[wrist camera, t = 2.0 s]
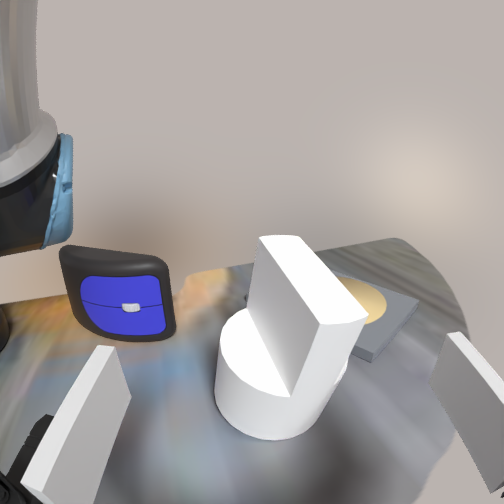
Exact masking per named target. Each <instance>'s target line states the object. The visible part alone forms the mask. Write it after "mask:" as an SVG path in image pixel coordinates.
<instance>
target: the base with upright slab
mask: <svg viewBox="0 0 504 504" xmlns="http://www.w3.org/2000/svg"><path fill="white" fill-rule="evenodd" d="M368 315H369V314H368V313H367V312H366V310H365V309H364V308H363V307H362V306H361V305H360V304H359V302H358V301H357V300H356V299H355V298H354V297H353V296H352V294H351V293H350V292H349V291H348V290H347V289H346V288H345V287H344V285H343V284H342V283H341V282H340V281H339V280H338V279H337V278H336V277H335V275H334V274H333V273H332V272H331V271H330V270H329V269H328V268H327V267H326V265H325V264H324V263H323V262H322V261H321V260H320V259H319V258H318V257H317V256H316V254H315V253H314V252H313V251H312V250H311V249H310V248H309V247H308V246H307V245H306V244H305V243H304V242H303V241H302V239H301V238H300V237H298V236H288V235H272V236H262V237H259V239H258V245H257V251H256V256H255V262H254V268H253V273H252V279H251V285H250V291H249V296H248V302H247V308H245V309H243V310H241V311H238V312H237V313H236V314H234V315H233V316H232V317H231V318H229V319H228V321H227V322H226V324H225V326H224V327H223V329H222V332H221V337H220V343H219V352H218V361H217V370H216V380H215V389H214V392H215V399H216V404H217V406H218V408H219V410H220V412H221V414H222V415H223V417H224V418H225V419H226V420H227V421H228V422H229V423H230V424H231V425H232V426H233V427H235V428H236V429H238V430H240V431H241V432H243V433H244V434H247V435H250V436H253V437H256V438H259V439H265V440H283V439H289V438H293V437H295V436H297V435H300V434H302V433H304V432H305V431H306V430H308V429H309V428H310V427H311V426H312V425H314V423H315V422H316V420H317V419H318V417H319V416H320V414H321V412H322V411H323V409H324V407H325V406H326V404H327V402H328V401H329V399H330V397H331V395H332V394H333V392H334V390H335V388H336V387H337V385H338V383H339V381H340V380H341V378H342V376H343V374H344V372H345V370H346V369H347V362H348V357H349V355H350V353H351V351H352V349H353V347H354V345H355V343H356V341H357V339H358V337H359V334H360V332H361V330H362V328H363V326H364V324H365V322H366V320H367V317H368Z"/></svg>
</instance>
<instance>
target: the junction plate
mask: <svg viewBox="0 0 504 504" xmlns="http://www.w3.org/2000/svg"><path fill="white" fill-rule="evenodd" d="M329 270H330V269H329ZM330 271H331V272H332V273H333V274H334V275H335V277H336V278H337V279H338V280H339V281H340V282H341V283H342V284H343V285H344V287H345V288H346V289H347V290H348V291H349V292H350V293H351V294H352V296H353V297H354V298H355V299H356V300H357V301H358V302H359V304H360V305H361V306H362V307H363V308H364V309H365V310H366V312H367V313H368V314H369V315H368V317H367V320H366V322H365V324H364V326H363V328H362V330H361V332H360V334H359V337H358V339H357V341H356V343H355V345H354V347H353V349H352V351H351V354H353V355H355V356H358V357H360V358H362V359H364V360H366V361H368V362H372V361H373V360H374V359H375V358H376V357H377V356H378V355H379V353H380V352H381V351H382V350H383V349H384V348H385V347H386V345H387V344H388V343H389V342H390V341H391V340H392V338H393V337H394V336H395V335H396V334H397V332H398V331H399V330H400V329H401V328H402V326H403V325H404V324H405V323H406V321H407V320H408V319H409V318H410V316H411V315H412V314H413V313H414V311H415V310H416V309H417V306H418V302H419V300H417V299H414V298H411V297H408V296H406V295H403V294H400V293H397V292H394V291H391V290H388V289H385V288H382V287H379V286H377V285H374V284H371V283H368V282H365V281H362V280H359V279H356V278H353V277H350V276H347V275H344V274H341V273H338V272H336V271H333V270H330ZM248 296H249V292H248V293H246V302H248Z"/></svg>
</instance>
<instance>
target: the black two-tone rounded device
mask: <svg viewBox="0 0 504 504" xmlns="http://www.w3.org/2000/svg"><path fill="white" fill-rule="evenodd" d="M59 259H60V263H61V268H62V273H63V277H64V281H65V285H66V289H67V293H68V297H69V301H70V304H71V308H72V311H73V314H74V316H75V318H76V319H77V320H78V322H79V323H80V324H81V325H83V326H84V327H85V328H87V329H88V330H90V331H92V332H94V333H96V334H98V335H101V336H104V337H107V338H111V339H115V340H121V341H131V342H149V341H159V340H163V339H166V338H168V337H170V336H171V335H173V333H174V332H175V330H176V322H175V315H174V308H173V300H172V293H171V285H170V277H169V269H168V266H167V264H166V263H165V262H164V261H163V260H161V259H160V258H158V257H156V256H152V255H144V254H136V253H128V252H120V251H113V250H105V249H97V248H89V247H82V246H75V245H66V246H63V247H62V248H61V249H60V251H59Z"/></svg>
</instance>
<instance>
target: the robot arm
mask: <svg viewBox="0 0 504 504" xmlns="http://www.w3.org/2000/svg"><path fill="white" fill-rule="evenodd" d="M37 3H38V0H0V257H1V256H6V255H11V254H16V253H21V252H27V251H32V250H37V249H40V250H42V249H44V248H46V246H50V245H54V244H58V243H62V242H64V241H66V240H67V239H68V238H69V237H70V235H71V234H72V230H73V198H72V174H73V172H72V171H73V168H72V167H73V138H72V136H71V135H68V134H66V135H65V134H63V133H61V134H58V132H57V126H56V122H55V120H54V118H53V117H52V116H51V115H50V114H48V113H47V112H45V111H43V110H40V109H39V101H38V88H37V70H36V19H37V17H36V16H37ZM8 337H9V325H8V323H7V320H6V317H5V315H4V312H3V310H2V309H1V307H0V351H1V350H2V348H3V347H4V345H5V344H6V342H7V340H8ZM429 385H430V386H431V388H432V390H433V391H434V393H435V394H436V396H437V398H438V399H439V401H440V403H441V404H442V406H443V408H444V409H445V411H446V413H447V414H448V416H449V418H450V419H451V421H452V423H453V424H454V426H455V428H456V430H457V431H458V433H459V435H460V437H461V438H462V440H463V442H464V444H465V446H466V447H467V449H468V451H469V453H470V455H471V457H472V458H473V460H474V462H475V464H476V466H477V468H478V470H479V472H480V474H481V475H482V478H483V479H484V481H485V483H486V485H487V487H488V489H489V491H490V493H493V492H494V491H496V490H498V489H499V488H501V487H503V486H504V382H503V380H502V379H501V378H500V377H499V375H498V374H497V373H496V372H495V371H494V369H493V368H492V367H491V366H490V365H489V364H488V362H487V361H486V360H485V359H484V358H483V357H482V355H481V354H480V353H479V352H478V351H477V350H476V349H475V348H474V346H473V345H472V344H471V343H470V342H469V341H468V340H467V339H466V338H465V336H464V335H463V334H462V333H461V332H455V333H449V334H447V335H446V338H445V341H444V343H443V346H442V349H441V352H440V355H439V357H438V360H437V363H436V365H435V368H434V370H433V373H432V375H431V378H430V380H429ZM130 399H131V395H130V392H129V389H128V386H127V383H126V380H125V377H124V374H123V371H122V368H121V365H120V362H119V359H118V355H117V352H116V349H115V347H113V346H102V345H98V346H97V347H96V349H95V350H94V352H93V353H92V355H91V357H90V358H89V360H88V361H87V363H86V364H85V366H84V368H83V369H82V371H81V373H80V374H79V376H78V377H77V379H76V381H75V382H74V384H73V386H72V387H71V389H70V391H69V392H68V394H67V396H66V398H65V399H64V401H63V403H62V404H61V406H60V408H59V410H58V411H57V413H56V415H55V417H54V416H51V415H47V414H46V415H44V416H43V417H42V418H41V419H40V420H39V421H37V422H36V423H35V425H34V427H33V428H32V430H31V432H30V436H28V437H27V439H26V441H25V442H24V443H25V445H23V446H22V448H21V450H20V451H19V453H18V455H17V457H16V459H15V461H14V463H13V465H12V466H11V468H10V470H9V472H8V474H7V475H6V477H5V476H4V475H3V474H2V473H1V471H0V504H93V503H94V500H95V497H96V494H97V490H98V487H99V484H100V481H101V479H102V476H103V473H104V470H105V467H106V464H107V461H108V458H109V456H110V453H111V450H112V447H113V444H114V442H115V439H116V436H117V434H118V431H119V428H120V425H121V423H122V420H123V418H124V415H125V412H126V410H127V407H128V405H129V402H130ZM503 497H504V492H503V493H502V496H501V498H503Z"/></svg>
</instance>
